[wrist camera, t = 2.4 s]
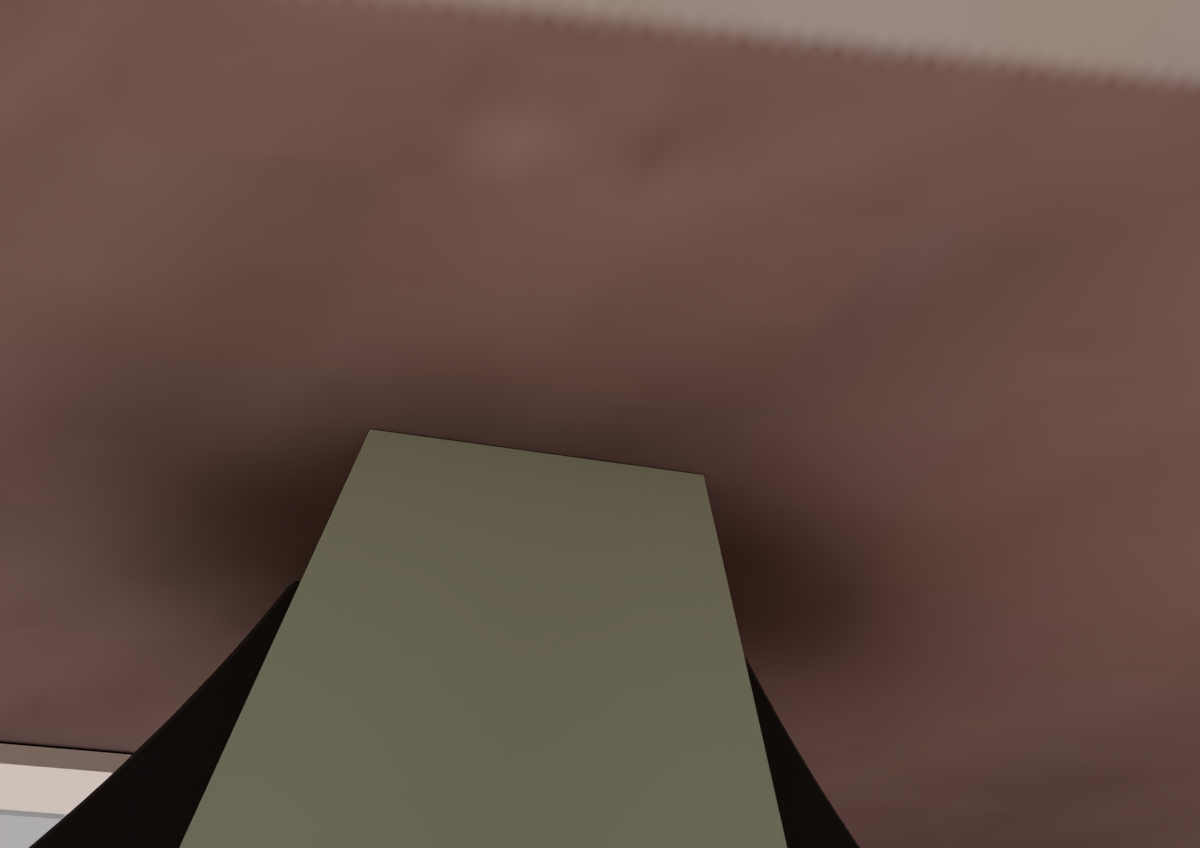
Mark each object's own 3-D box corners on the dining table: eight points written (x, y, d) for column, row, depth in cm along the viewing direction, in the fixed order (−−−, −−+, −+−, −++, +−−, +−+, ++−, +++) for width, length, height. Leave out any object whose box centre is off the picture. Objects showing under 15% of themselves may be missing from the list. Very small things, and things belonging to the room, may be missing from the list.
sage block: (703, 475, 11) (800, 909, 6) (636, 683, 14) (665, 1105, 9) (369, 429, 11) (171, 864, 6) (367, 656, 13) (233, 1088, 8)
